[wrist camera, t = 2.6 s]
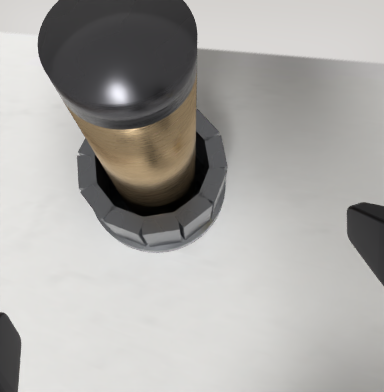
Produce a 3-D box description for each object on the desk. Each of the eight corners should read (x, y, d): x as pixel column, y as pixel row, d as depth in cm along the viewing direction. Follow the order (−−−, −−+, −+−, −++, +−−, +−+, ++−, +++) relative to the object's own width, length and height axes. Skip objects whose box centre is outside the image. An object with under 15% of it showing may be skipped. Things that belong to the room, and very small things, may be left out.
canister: (178, 230, 22) (160, 126, 10) (107, 203, 23) (7, 73, 11) (205, 163, 24) (219, 0, 11) (138, 139, 24) (82, -40, 12)
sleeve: (196, 273, 22) (197, 264, 18) (70, 223, 23) (43, 204, 19) (241, 153, 25) (251, 121, 21) (126, 113, 26) (113, 76, 22)
